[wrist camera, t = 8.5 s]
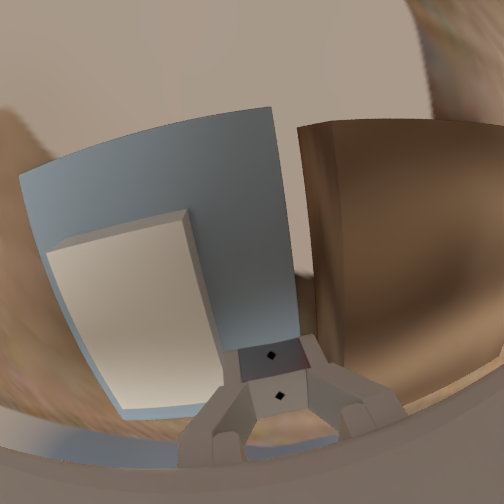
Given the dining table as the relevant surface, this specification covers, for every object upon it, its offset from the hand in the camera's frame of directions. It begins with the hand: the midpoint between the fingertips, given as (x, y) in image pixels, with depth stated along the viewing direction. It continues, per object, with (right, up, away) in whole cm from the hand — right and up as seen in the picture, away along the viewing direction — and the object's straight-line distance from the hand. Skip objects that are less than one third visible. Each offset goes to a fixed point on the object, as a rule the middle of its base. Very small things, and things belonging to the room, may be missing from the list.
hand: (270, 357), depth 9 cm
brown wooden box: (+8, +3, +5) cm, 10 cm away
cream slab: (-5, 0, +2) cm, 6 cm away
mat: (-5, +1, +4) cm, 6 cm away
